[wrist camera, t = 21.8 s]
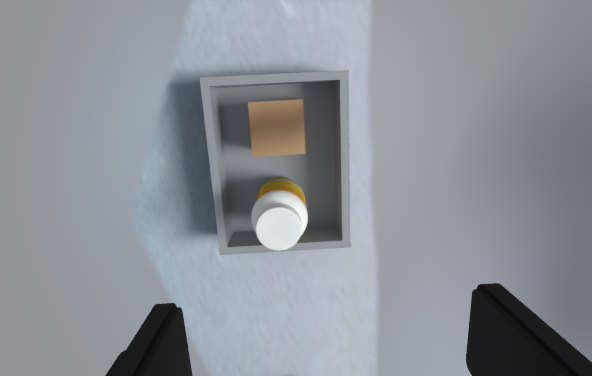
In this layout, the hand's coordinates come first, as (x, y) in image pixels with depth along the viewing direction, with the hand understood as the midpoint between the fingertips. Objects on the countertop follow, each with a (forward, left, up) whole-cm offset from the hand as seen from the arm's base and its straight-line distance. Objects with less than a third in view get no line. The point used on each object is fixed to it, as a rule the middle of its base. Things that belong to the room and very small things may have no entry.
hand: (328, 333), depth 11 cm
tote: (-1, +2, -28) cm, 28 cm away
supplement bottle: (-4, -1, -28) cm, 28 cm away
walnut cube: (+2, +4, -28) cm, 28 cm away
